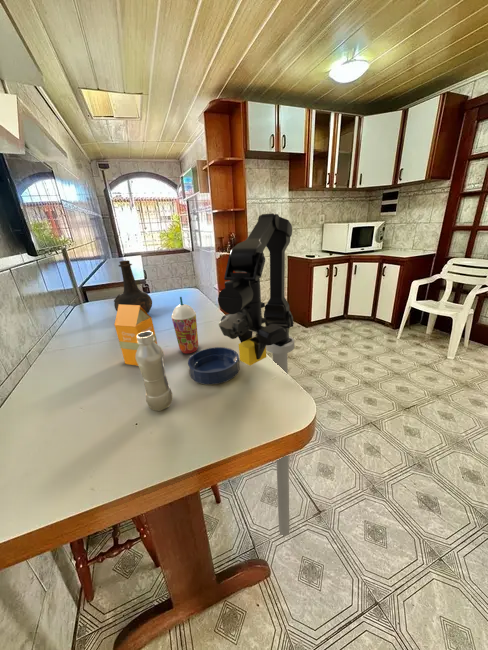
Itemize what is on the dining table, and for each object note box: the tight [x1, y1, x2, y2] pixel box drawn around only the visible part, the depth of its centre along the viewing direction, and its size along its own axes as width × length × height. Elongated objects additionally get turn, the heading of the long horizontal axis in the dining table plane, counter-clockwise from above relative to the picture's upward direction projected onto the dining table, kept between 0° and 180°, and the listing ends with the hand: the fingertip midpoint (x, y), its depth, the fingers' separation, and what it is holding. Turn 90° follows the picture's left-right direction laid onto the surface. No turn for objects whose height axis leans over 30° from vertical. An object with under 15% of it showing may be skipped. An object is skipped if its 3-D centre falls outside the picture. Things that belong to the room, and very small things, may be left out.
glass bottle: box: [113, 260, 153, 314], centre depth 132 cm, size 18×18×28 cm
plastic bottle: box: [135, 331, 174, 412], centre depth 65 cm, size 6×7×20 cm
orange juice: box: [113, 304, 158, 367], centre depth 88 cm, size 8×9×20 cm
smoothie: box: [170, 296, 199, 354], centre depth 93 cm, size 8×8×20 cm
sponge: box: [238, 336, 267, 366], centre depth 70 cm, size 6×4×5 cm, turn 131°
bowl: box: [187, 346, 241, 385], centre depth 81 cm, size 15×15×4 cm
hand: (253, 356), depth 71 cm, fingers closed on sponge, 4 cm apart
